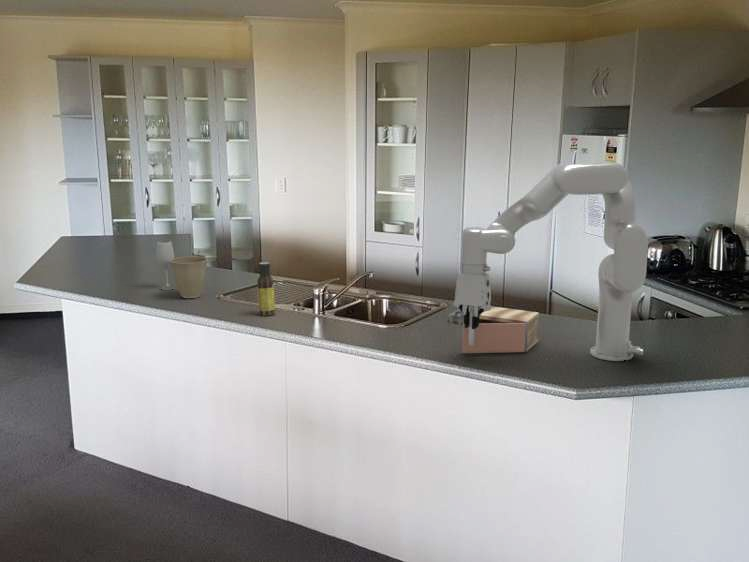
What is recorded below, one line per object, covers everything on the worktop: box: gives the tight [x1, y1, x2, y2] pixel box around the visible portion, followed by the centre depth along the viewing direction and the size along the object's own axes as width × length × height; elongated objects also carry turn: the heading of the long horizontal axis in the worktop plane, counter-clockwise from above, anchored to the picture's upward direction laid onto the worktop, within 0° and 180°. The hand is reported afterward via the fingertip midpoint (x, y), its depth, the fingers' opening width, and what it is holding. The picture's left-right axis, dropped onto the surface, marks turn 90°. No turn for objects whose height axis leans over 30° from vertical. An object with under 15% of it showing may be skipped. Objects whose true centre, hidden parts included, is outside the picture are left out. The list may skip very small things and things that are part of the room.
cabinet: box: [479, 306, 540, 352], centre depth 229 cm, size 20×12×10 cm, turn 60°
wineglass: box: [155, 240, 175, 286], centre depth 306 cm, size 8×8×21 cm
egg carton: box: [447, 308, 464, 325], centre depth 256 cm, size 11×8×4 cm
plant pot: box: [170, 256, 208, 297], centre depth 292 cm, size 15×15×16 cm
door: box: [462, 308, 528, 354], centre depth 216 cm, size 20×4×15 cm, turn 91°
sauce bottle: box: [256, 261, 276, 317], centre depth 264 cm, size 6×6×20 cm
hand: (471, 327), depth 214 cm, fingers closed on door
